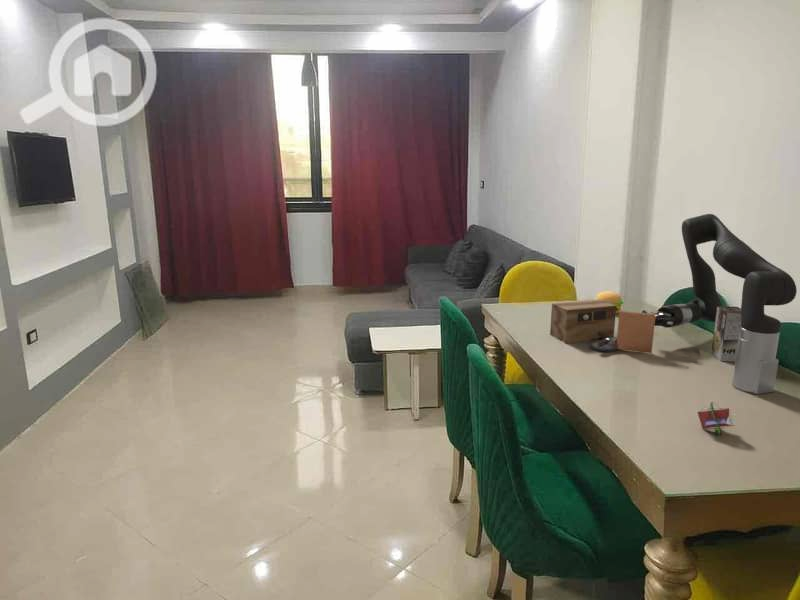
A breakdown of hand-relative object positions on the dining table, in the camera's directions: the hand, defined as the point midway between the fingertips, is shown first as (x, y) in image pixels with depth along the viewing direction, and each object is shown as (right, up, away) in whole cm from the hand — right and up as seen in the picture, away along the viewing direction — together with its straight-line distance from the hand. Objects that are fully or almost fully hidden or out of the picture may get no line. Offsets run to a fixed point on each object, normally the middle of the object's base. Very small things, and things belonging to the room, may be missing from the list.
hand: (638, 321), depth 185 cm
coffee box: (+27, -12, -4) cm, 30 cm away
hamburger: (+9, +2, +52) cm, 53 cm away
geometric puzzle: (-5, -24, -53) cm, 59 cm away
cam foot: (-5, -10, +3) cm, 11 cm away
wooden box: (-13, -6, +18) cm, 23 cm away
